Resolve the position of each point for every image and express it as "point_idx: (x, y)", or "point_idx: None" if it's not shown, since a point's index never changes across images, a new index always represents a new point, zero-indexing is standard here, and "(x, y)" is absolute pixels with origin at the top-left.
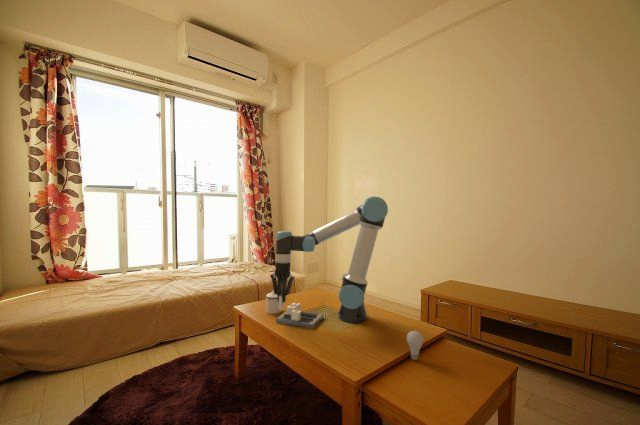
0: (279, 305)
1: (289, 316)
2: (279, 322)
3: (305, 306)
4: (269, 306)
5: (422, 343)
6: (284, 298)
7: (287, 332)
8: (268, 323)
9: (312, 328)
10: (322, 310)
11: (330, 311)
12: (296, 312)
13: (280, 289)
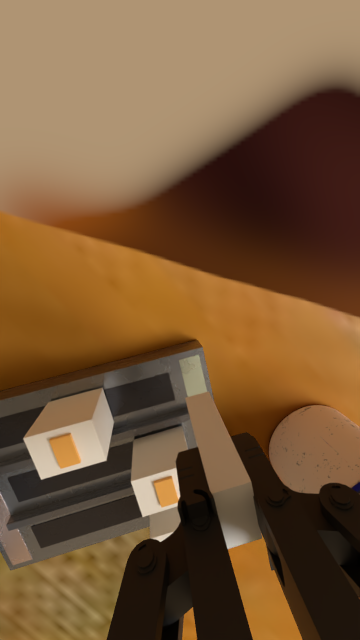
0: (209, 410)
1: (150, 419)
2: (173, 347)
3: None
4: (337, 430)
5: None
6: (180, 494)
7: (37, 275)
8: (222, 305)
9: None
10: (102, 608)
11: (58, 625)
12: (45, 434)
13: (304, 620)
